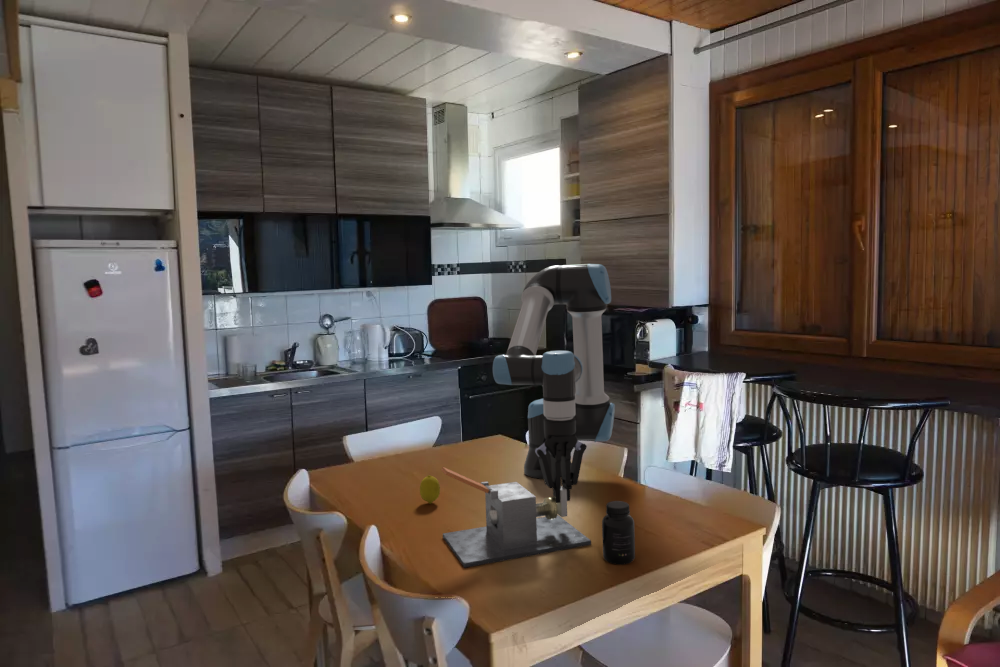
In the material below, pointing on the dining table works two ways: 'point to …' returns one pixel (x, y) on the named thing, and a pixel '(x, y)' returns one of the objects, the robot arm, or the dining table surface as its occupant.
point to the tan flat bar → (466, 480)
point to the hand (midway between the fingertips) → (562, 514)
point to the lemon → (429, 489)
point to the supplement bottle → (618, 534)
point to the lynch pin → (542, 509)
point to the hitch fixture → (512, 530)
